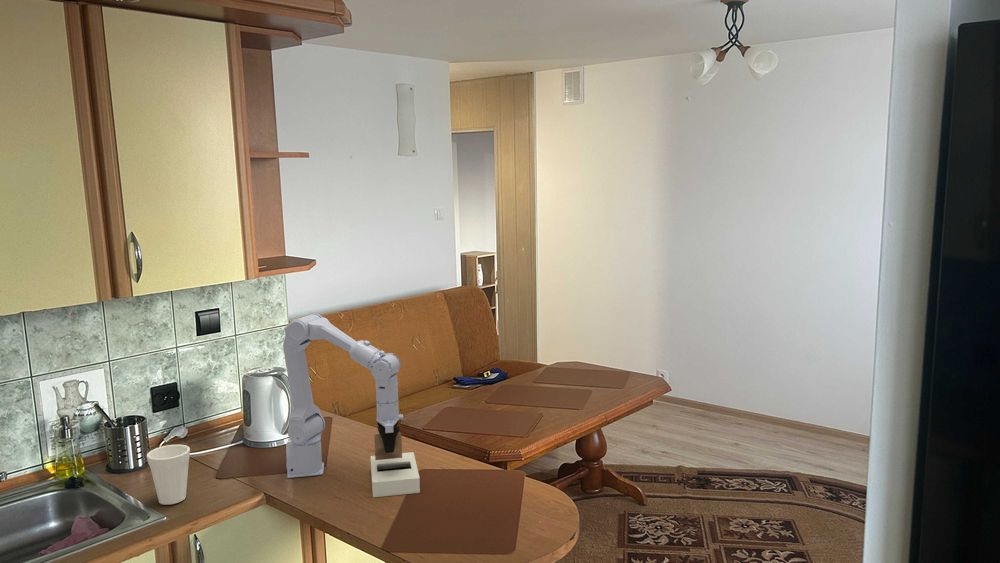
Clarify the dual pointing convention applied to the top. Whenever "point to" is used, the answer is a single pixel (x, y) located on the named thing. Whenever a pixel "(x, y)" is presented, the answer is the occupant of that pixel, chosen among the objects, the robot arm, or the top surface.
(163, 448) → the cup
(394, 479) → the slotted box
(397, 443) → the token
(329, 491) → the top surface
